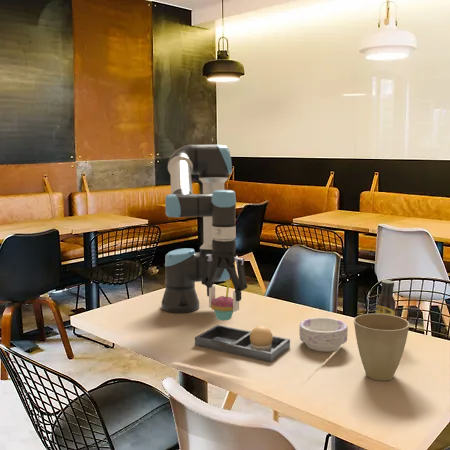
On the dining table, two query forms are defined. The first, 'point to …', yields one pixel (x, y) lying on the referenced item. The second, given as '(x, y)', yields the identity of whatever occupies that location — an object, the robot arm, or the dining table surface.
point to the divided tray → (239, 343)
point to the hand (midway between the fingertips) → (223, 308)
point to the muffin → (261, 338)
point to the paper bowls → (323, 333)
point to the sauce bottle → (386, 299)
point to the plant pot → (380, 343)
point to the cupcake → (223, 306)
